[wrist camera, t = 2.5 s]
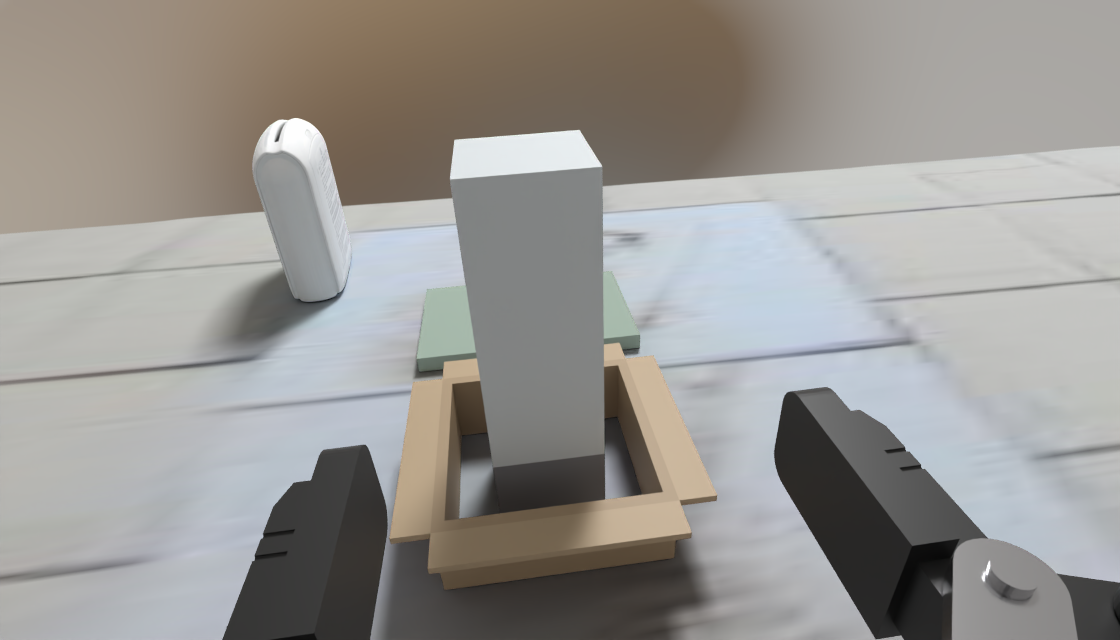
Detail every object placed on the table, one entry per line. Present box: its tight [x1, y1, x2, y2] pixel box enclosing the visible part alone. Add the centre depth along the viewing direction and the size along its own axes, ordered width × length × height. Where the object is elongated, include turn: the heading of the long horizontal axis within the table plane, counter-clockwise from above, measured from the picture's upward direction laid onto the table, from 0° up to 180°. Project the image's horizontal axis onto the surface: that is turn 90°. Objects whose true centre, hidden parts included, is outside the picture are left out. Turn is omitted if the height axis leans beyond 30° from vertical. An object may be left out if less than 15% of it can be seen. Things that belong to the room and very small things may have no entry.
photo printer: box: [252, 118, 352, 302], centre depth 45 cm, size 10×4×12 cm, turn 13°
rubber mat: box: [417, 271, 640, 372], centre depth 40 cm, size 14×9×1 cm, turn 97°
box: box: [450, 130, 605, 513], centre depth 24 cm, size 5×5×16 cm
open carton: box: [389, 343, 717, 590], centre depth 27 cm, size 12×12×4 cm
